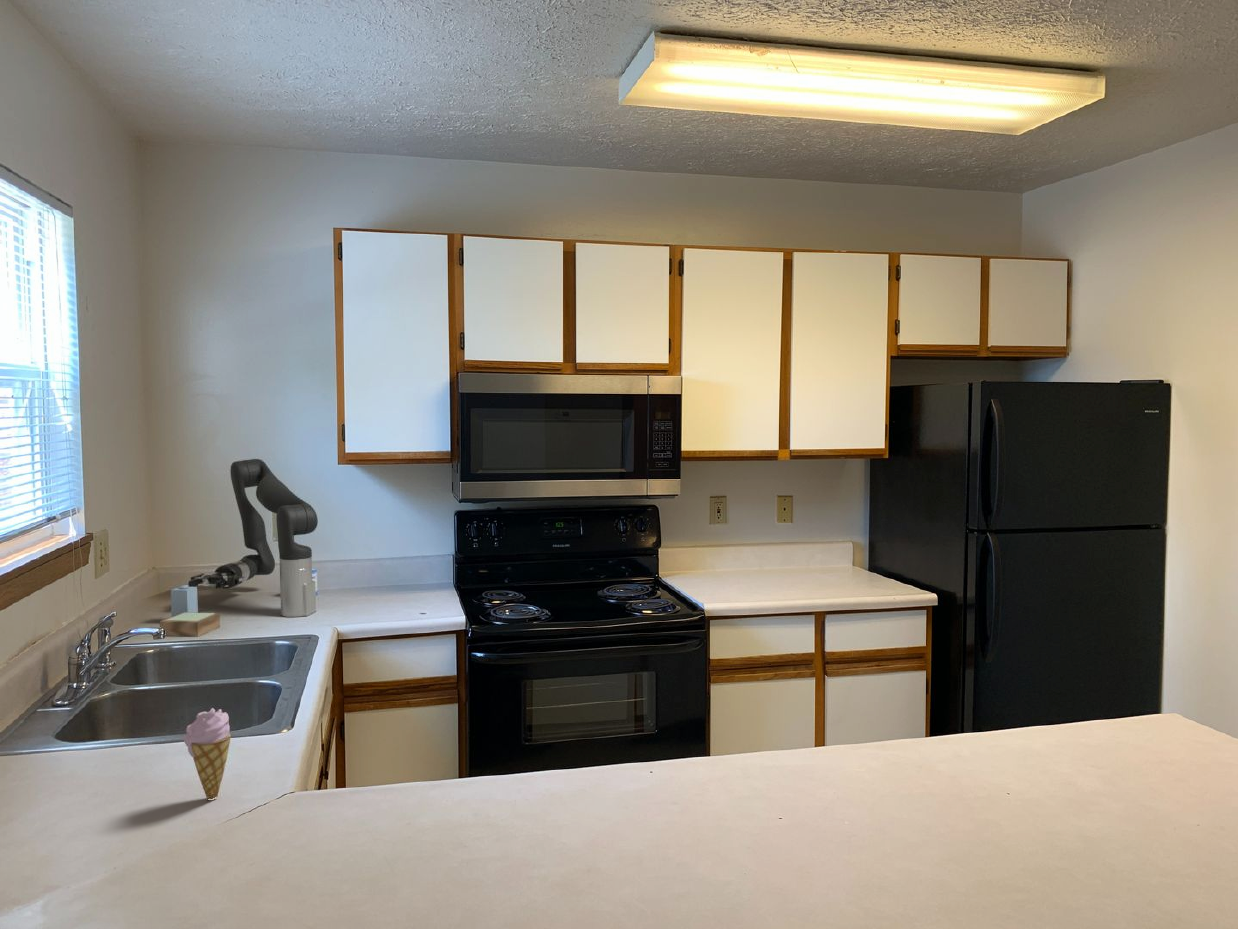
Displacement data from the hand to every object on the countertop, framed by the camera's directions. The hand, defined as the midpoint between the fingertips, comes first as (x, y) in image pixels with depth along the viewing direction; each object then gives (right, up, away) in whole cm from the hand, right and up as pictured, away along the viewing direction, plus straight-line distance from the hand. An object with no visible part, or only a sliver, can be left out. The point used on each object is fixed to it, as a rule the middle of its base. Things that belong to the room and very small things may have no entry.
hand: (203, 585), depth 269 cm
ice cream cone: (+61, -17, -128) cm, 143 cm away
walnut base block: (+6, -10, -21) cm, 24 cm away
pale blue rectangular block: (-1, -10, -10) cm, 14 cm away
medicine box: (+21, -7, +26) cm, 34 cm away
